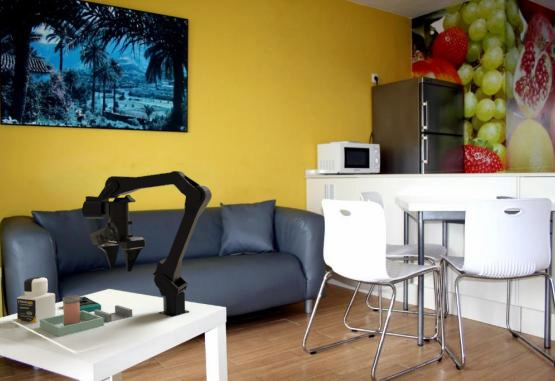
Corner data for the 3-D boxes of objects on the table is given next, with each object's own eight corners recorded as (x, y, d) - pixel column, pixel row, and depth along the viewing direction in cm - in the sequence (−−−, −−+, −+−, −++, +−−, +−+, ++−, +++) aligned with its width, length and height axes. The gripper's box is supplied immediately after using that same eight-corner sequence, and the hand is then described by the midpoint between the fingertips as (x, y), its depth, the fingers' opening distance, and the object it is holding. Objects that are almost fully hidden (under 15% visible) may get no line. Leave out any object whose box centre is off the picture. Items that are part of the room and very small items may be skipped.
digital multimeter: (85, 303, 156) (85, 294, 156) (102, 312, 145) (101, 303, 145) (62, 308, 151) (61, 298, 151) (77, 317, 140) (76, 307, 140)
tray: (103, 327, 128) (103, 317, 128) (58, 338, 119) (58, 328, 119) (83, 319, 136) (83, 310, 136) (39, 328, 127) (39, 319, 127)
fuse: (83, 326, 128) (82, 296, 128) (67, 330, 125) (66, 299, 125) (76, 323, 131) (75, 294, 131) (60, 327, 128) (60, 297, 128)
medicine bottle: (16, 322, 134) (15, 279, 134) (37, 315, 141) (37, 275, 141) (35, 324, 132) (34, 281, 132) (56, 317, 138) (55, 276, 138)
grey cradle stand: (132, 317, 137) (132, 309, 137) (108, 323, 131) (108, 315, 131) (118, 313, 142) (117, 305, 142) (94, 318, 137) (94, 310, 137)
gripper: (77, 219, 142) (79, 271, 142) (111, 221, 130) (112, 277, 130) (111, 216, 150) (113, 265, 151) (146, 218, 138) (147, 271, 139)
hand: (120, 270), depth 142 cm, fingers open, 9 cm apart
